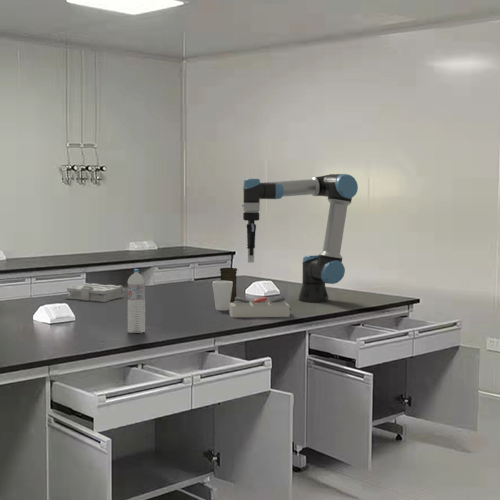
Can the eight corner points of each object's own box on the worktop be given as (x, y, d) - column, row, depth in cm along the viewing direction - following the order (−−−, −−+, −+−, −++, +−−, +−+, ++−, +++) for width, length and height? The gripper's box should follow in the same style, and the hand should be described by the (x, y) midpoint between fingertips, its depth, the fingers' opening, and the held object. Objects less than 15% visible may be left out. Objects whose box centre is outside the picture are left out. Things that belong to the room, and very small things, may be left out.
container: (235, 307, 365) (235, 269, 363) (217, 306, 367) (217, 269, 365) (239, 304, 374) (239, 267, 372) (221, 303, 375) (221, 267, 374)
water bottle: (128, 330, 303) (128, 268, 301) (145, 330, 304) (145, 268, 302) (127, 334, 297) (126, 270, 294) (144, 334, 297) (144, 270, 295)
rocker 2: (266, 298, 343) (265, 296, 342) (267, 300, 339) (266, 297, 338) (253, 302, 342) (252, 299, 342) (254, 303, 338) (253, 301, 338)
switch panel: (288, 312, 350) (288, 299, 349) (292, 316, 340) (292, 302, 339) (229, 313, 346) (229, 299, 346) (231, 317, 336) (231, 303, 335)
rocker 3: (283, 298, 344) (282, 296, 343) (285, 300, 340) (284, 297, 340) (270, 302, 343) (270, 299, 343) (272, 303, 339) (271, 301, 339)
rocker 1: (247, 302, 342) (248, 299, 342) (248, 303, 338) (249, 301, 338) (234, 299, 341) (235, 296, 341) (235, 300, 337) (236, 297, 337)
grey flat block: (81, 294, 404) (80, 279, 403) (125, 297, 392) (125, 283, 391) (57, 299, 386) (57, 284, 385) (104, 303, 375) (103, 288, 374)
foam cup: (235, 308, 361) (235, 281, 359) (228, 311, 352) (228, 283, 351) (216, 307, 364) (216, 280, 362) (209, 310, 355) (209, 282, 354)
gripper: (241, 211, 360) (241, 260, 362) (245, 212, 347) (244, 263, 349) (257, 211, 361) (256, 260, 363) (261, 212, 348) (260, 263, 350)
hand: (250, 262), depth 356 cm, fingers closed
